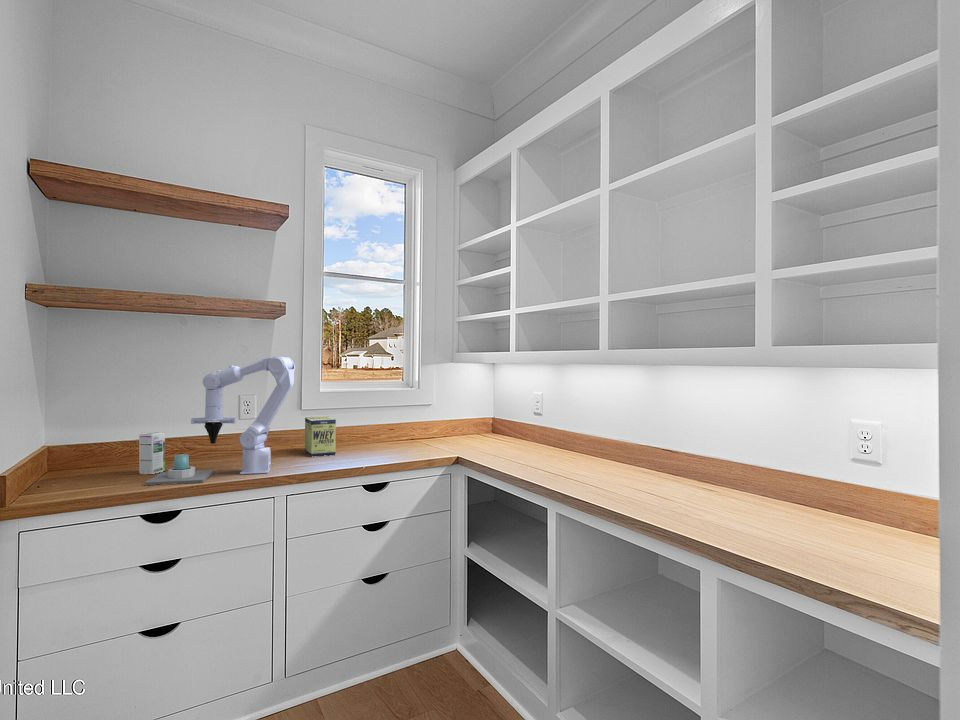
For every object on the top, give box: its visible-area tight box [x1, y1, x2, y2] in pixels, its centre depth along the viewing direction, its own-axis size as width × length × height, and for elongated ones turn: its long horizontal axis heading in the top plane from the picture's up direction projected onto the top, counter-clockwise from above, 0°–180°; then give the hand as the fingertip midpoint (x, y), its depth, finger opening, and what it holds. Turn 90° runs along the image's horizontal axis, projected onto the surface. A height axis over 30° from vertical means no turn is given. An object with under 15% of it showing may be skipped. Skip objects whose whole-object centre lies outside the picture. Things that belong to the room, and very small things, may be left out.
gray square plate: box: [144, 466, 215, 486], centre depth 177 cm, size 17×16×4 cm
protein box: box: [304, 416, 337, 458], centre depth 227 cm, size 10×16×16 cm
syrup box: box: [138, 431, 166, 475], centre depth 186 cm, size 6×6×14 cm
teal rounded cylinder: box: [173, 454, 190, 470], centre depth 176 cm, size 4×4×7 cm
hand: (213, 443), depth 188 cm, fingers closed
